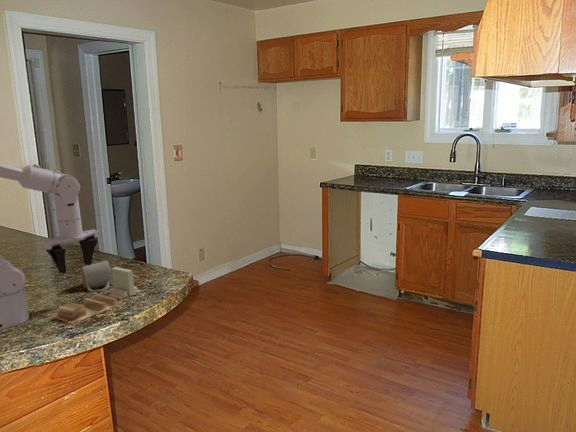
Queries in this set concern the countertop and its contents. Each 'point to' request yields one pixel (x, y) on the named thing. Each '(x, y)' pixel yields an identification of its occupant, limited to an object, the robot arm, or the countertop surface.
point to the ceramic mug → (96, 276)
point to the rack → (93, 306)
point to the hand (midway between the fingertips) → (75, 268)
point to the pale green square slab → (123, 280)
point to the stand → (120, 293)
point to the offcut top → (71, 309)
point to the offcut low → (72, 317)
